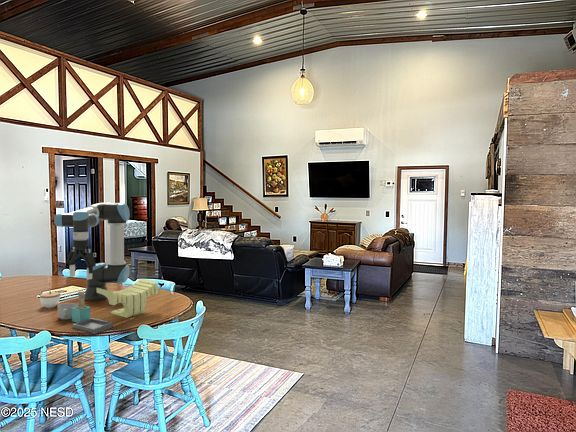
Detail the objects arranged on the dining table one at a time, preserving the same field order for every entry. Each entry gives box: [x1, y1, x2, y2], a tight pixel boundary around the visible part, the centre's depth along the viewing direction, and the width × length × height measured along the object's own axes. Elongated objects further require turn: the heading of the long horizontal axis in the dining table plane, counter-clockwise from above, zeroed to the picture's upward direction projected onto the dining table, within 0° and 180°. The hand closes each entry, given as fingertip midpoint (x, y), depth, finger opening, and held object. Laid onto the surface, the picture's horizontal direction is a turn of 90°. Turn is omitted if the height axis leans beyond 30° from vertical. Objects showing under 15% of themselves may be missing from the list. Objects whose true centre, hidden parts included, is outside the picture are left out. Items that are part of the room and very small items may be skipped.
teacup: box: [57, 302, 78, 321], centre depth 219 cm, size 14×11×8 cm
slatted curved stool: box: [97, 278, 159, 318], centre depth 231 cm, size 30×16×18 cm, turn 149°
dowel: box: [77, 290, 85, 309], centre depth 216 cm, size 3×3×16 cm
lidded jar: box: [39, 291, 61, 309], centre depth 243 cm, size 11×11×9 cm
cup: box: [71, 305, 91, 323], centre depth 216 cm, size 6×6×8 cm
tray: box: [71, 317, 114, 335], centre depth 207 cm, size 16×12×3 cm
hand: (80, 277), depth 215 cm, fingers open, 13 cm apart
